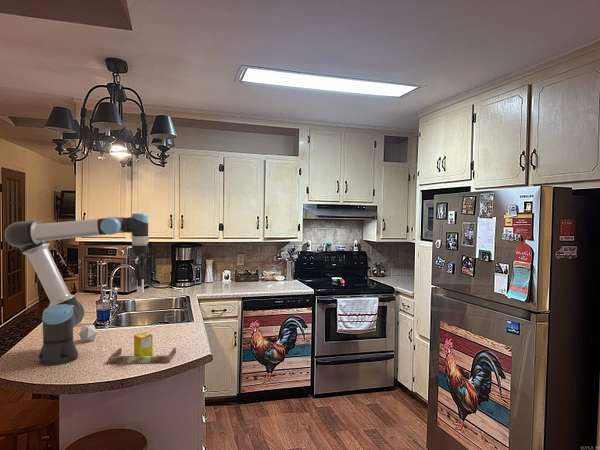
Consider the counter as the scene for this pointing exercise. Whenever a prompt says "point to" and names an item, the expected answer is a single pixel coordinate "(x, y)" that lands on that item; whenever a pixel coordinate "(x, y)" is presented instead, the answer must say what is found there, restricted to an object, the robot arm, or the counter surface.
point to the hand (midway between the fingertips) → (140, 292)
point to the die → (88, 333)
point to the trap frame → (140, 358)
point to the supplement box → (143, 345)
